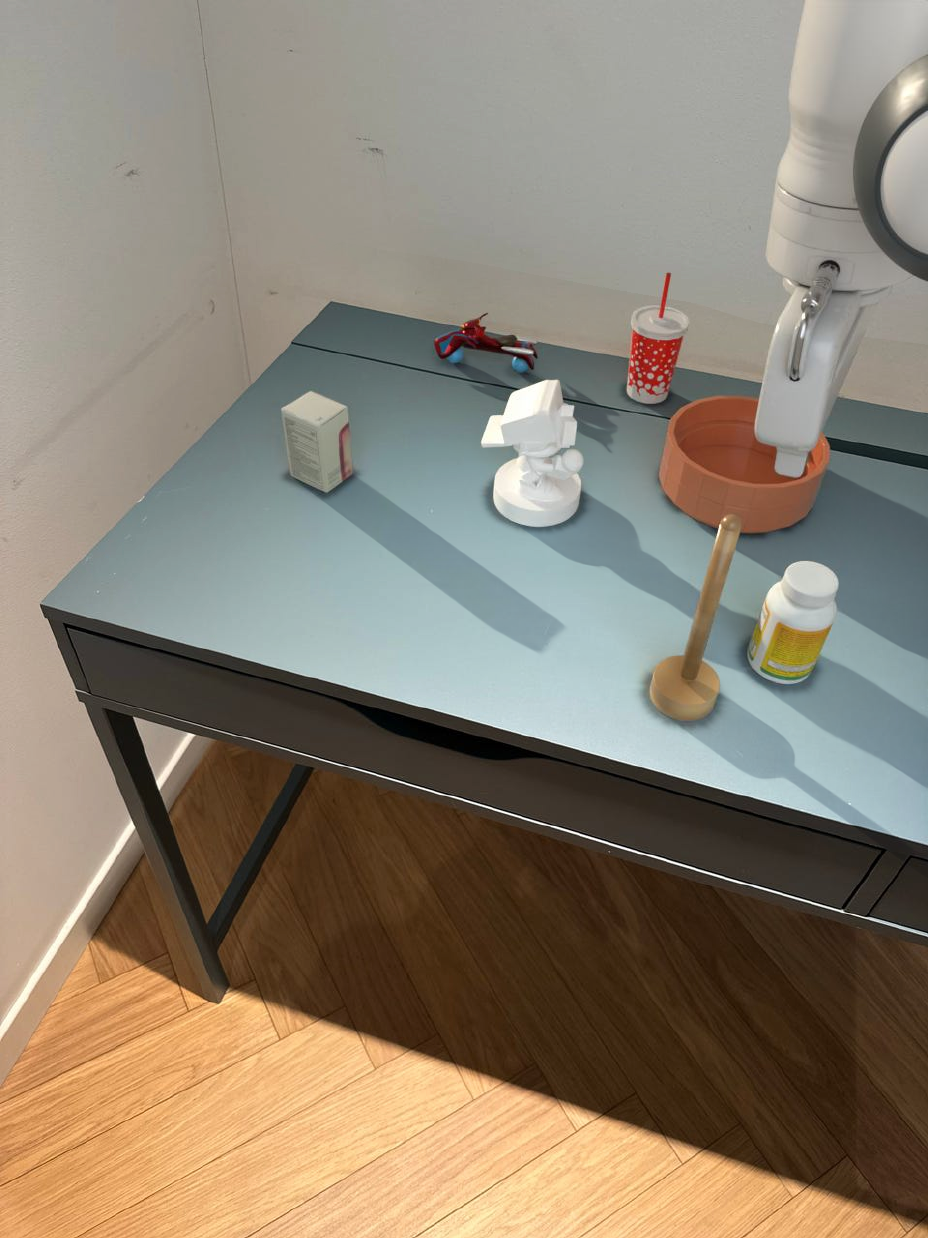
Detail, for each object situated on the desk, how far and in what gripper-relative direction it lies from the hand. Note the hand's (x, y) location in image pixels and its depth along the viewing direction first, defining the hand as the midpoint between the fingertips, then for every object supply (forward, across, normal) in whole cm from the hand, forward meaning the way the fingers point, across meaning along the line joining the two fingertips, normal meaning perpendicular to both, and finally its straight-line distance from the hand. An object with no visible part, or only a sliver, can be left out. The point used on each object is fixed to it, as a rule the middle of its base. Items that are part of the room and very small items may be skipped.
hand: (807, 432), depth 66 cm
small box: (+17, +2, +45) cm, 49 cm away
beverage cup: (+20, +33, +22) cm, 45 cm away
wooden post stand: (+21, -8, +4) cm, 23 cm away
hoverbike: (+18, +29, +40) cm, 53 cm away
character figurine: (+19, +9, +26) cm, 33 cm away
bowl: (+21, +20, +8) cm, 31 cm away
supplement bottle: (+22, -1, -2) cm, 22 cm away
